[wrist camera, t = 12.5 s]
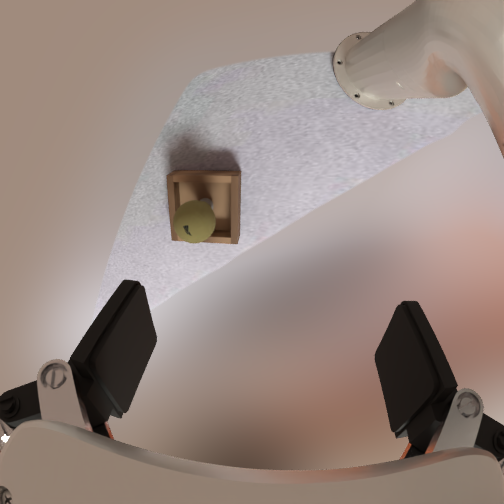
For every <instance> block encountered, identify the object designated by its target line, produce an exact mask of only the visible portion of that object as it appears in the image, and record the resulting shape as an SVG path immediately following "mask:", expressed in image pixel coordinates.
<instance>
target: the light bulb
mask: <svg viewBox="0 0 504 504" xmlns="http://www.w3.org/2000/svg"><path fill="white" fill-rule="evenodd" d="M215 224H216V218H215V214H214V212H213V202H212V201H211V200H210V199H208V198H203V199H201V200H200V201H198V200H192V201H188V202H185V203H184V204H182V205H181V206H180V207H179V208H178V209H177V211H176V212H175V215H174V218H173V226H174V230H175V232H176V234H177V235H178V236H179V237H180V238H181V239H182V240H184V241H186V242H189V243H200V242H203V241H204V240H206V239H207V238H209V237H210V236H211V234H212V233H213V231H214V228H215Z"/></svg>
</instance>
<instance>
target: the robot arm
mask: <svg viewBox="0 0 504 504" xmlns="http://www.w3.org/2000/svg"><path fill="white" fill-rule="evenodd" d="M356 38H358V39H359V40H357V39H356ZM337 62H340V64H338V63H337ZM333 67H334V73H335V76H336V79H337V81H338V83H339V85H340V87H341V88H342V89H343V91H344V92H345V93H346V94H347V95H348V96H349V97H350V98H351V99H352V100H354V101H355V102H357V103H358V104H360V105H362V106H364V107H367V108H370V109H375V110H387V109H392V108H395V107H397V106H399V105H400V104H402V103H403V102H404V101H405V100H406V99H412V98H450V97H453V96H456V95H458V94H460V93H461V92H463V91H464V90H465V89H466V88H467V87H468V88H469V89H470V91H471V93H472V94H473V96H474V98H475V100H476V101H477V103H478V104H479V106H480V108H481V110H482V111H483V113H484V115H485V117H486V119H487V122H488V123H489V126H490V127H491V130H492V132H493V134H494V137H495V139H496V141H497V144H498V146H499V149H500V151H501V153H502V155H503V158H504V0H416V1H414V2H413V3H412V4H411V5H409V6H408V7H407V8H405V9H404V10H403V11H401V12H400V13H398V14H397V15H395V16H394V17H393V18H391V19H390V20H388V21H387V22H386V23H384V24H382V25H381V26H380V27H378V28H377V29H375V30H374V31H373V32H360V33H355V34H352V35H350V36H348V37H347V38H346V39H344V40H343V41H342V42H341V43H340V44H339V46H338V47H337V49H336V51H335V54H334V60H333ZM355 94H356V95H357V97H355V96H354V95H355ZM389 102H390V103H391V104H389ZM156 342H157V336H156V332H155V328H154V325H153V321H152V317H151V313H150V309H149V305H148V301H147V296H146V292H145V288H144V286H141V284H140V282H139V281H133V280H123V281H122V283H121V284H120V285H119V287H118V288H117V289H116V291H115V292H114V293H113V295H112V296H111V298H110V299H109V300H108V302H107V303H106V305H105V306H104V307H103V309H102V310H101V312H100V313H99V314H98V316H97V317H96V319H95V320H94V322H93V323H92V325H91V326H90V328H89V329H88V331H87V332H86V334H85V335H84V337H83V338H82V340H81V341H80V343H79V345H78V346H77V347H76V349H75V351H74V352H73V354H72V355H71V357H70V360H69V361H68V363H67V362H65V361H63V360H60V359H55V360H51V361H49V362H47V363H45V364H44V365H43V366H42V367H41V368H40V370H39V372H38V375H37V380H36V381H34V382H31V383H28V384H25V385H23V386H20V387H17V388H14V389H11V390H8V391H6V392H4V393H3V394H2V395H1V396H0V504H504V426H503V425H502V424H500V423H499V422H497V421H495V420H494V419H492V418H490V417H489V416H487V415H486V414H484V413H483V408H484V406H483V402H482V399H481V397H480V396H479V395H478V394H477V393H476V392H475V391H473V390H471V389H465V388H464V389H461V390H459V391H457V389H456V387H457V386H458V385H457V382H456V380H455V377H454V375H453V373H452V370H451V368H450V366H449V363H448V361H447V359H446V357H445V354H444V352H443V350H442V348H441V346H440V344H439V342H438V340H437V338H436V335H435V334H434V331H433V330H432V328H431V326H430V324H429V322H428V320H427V318H426V316H425V314H424V312H423V310H422V308H421V307H420V305H419V303H418V302H417V301H403V302H402V303H401V304H400V305H398V306H397V307H396V310H395V312H394V314H393V317H392V319H391V321H390V323H389V326H388V328H387V330H386V332H385V334H384V336H383V338H382V340H381V342H380V345H379V346H378V348H377V350H376V353H375V363H376V367H377V370H378V374H379V378H380V382H381V386H382V391H383V395H384V399H385V404H386V408H387V413H388V417H389V422H390V427H391V430H392V432H395V436H396V438H401V437H406V436H408V439H409V443H408V445H407V447H406V448H405V450H404V452H403V454H402V455H401V457H400V459H399V460H395V461H391V462H385V463H379V464H373V465H366V466H358V467H350V468H339V469H328V470H327V469H326V470H302V471H301V470H296V471H295V470H293V471H292V470H291V471H290V470H289V471H288V470H261V469H248V468H237V467H229V466H221V465H214V464H208V463H202V462H196V461H191V460H186V459H181V458H177V457H172V456H168V455H164V454H160V453H156V452H152V451H148V450H145V449H142V448H139V447H135V446H132V445H128V444H125V443H122V442H119V441H116V440H114V437H113V435H112V432H111V430H110V427H109V424H108V422H107V421H108V419H109V416H110V415H112V416H114V417H117V418H122V415H123V413H126V412H127V411H128V410H129V407H130V405H131V402H132V400H133V397H134V395H135V392H136V390H137V387H138V385H139V383H140V380H141V378H142V375H143V373H144V371H145V368H146V366H147V364H148V361H149V359H150V357H151V354H152V352H153V350H154V347H155V345H156Z"/></svg>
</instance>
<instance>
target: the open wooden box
mask: <svg viewBox="0 0 504 504" xmlns="http://www.w3.org/2000/svg"><path fill="white" fill-rule="evenodd" d="M167 189H168V203H169V215H170V226H171V236H172V241H184V240H182V239H181V238H180V237H179V236H178V235H177V234H176V232H175V230H174V226H173V218H174V215H175V212H176V211H177V209H178V208H179V207H180V206H181V205H182V204H184V203H185V202H188V201H192V200H198V201H200V200H201V199H203V198H208V199H210V200H211V201H212V202H213V212H214V214H215V218H216V224H215V228H214V231H213V233H212V234H211V236H210V237H209V238H207V239H206V240H204V241H203V242H208V243H225V244H238V240H239V236H240V203H241V171H214V170H175V171H173V172H171V173H170V174H168V175H167Z"/></svg>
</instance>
